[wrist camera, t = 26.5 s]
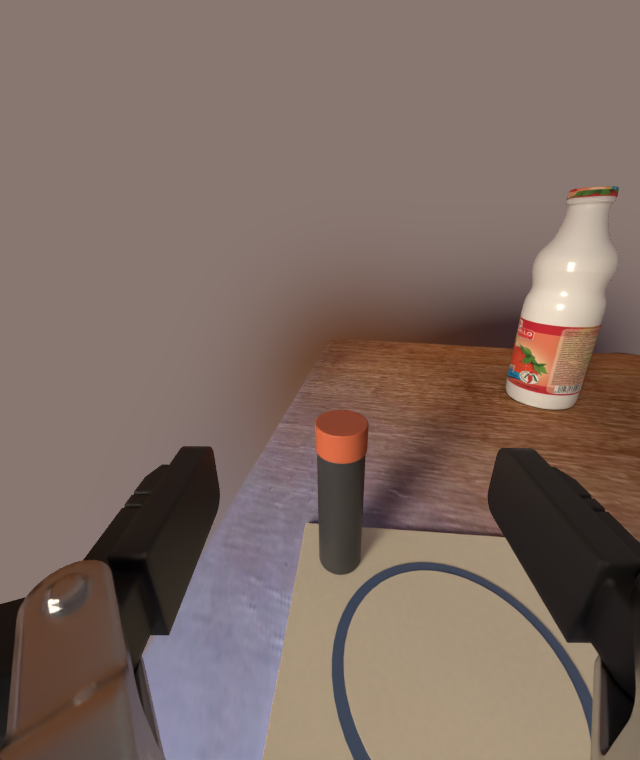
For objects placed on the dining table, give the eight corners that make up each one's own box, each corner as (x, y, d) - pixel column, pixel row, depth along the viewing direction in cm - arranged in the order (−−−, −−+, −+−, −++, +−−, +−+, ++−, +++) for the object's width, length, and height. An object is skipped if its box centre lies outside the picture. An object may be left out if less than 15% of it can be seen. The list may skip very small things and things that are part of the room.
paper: (219, 996, 11) (218, 994, 11) (305, 524, 30) (305, 522, 29) (929, 1153, 9) (937, 1153, 9) (549, 542, 27) (550, 539, 27)
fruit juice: (581, 416, 46) (659, 180, 35) (504, 403, 50) (552, 186, 39) (570, 390, 54) (630, 189, 43) (503, 380, 58) (543, 194, 47)
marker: (315, 574, 25) (311, 435, 20) (320, 537, 28) (318, 408, 23) (362, 578, 25) (369, 437, 20) (361, 540, 28) (367, 410, 23)
